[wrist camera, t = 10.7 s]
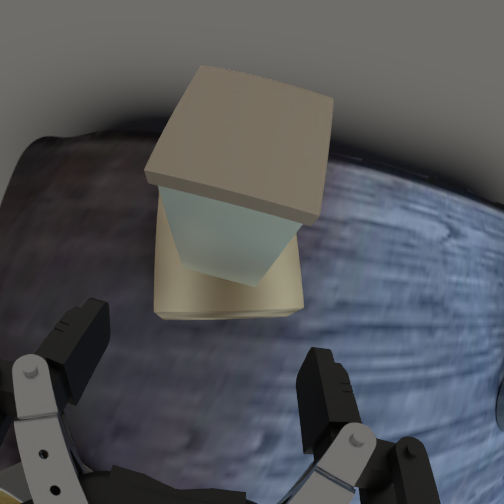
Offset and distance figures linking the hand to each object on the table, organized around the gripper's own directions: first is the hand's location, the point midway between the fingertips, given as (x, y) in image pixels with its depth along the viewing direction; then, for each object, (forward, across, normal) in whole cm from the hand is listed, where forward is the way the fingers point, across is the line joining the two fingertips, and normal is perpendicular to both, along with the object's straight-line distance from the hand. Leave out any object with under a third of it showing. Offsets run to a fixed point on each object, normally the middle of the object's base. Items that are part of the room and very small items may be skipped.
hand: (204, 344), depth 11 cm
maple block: (+14, 0, +4) cm, 15 cm away
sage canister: (+11, 0, 0) cm, 11 cm away
